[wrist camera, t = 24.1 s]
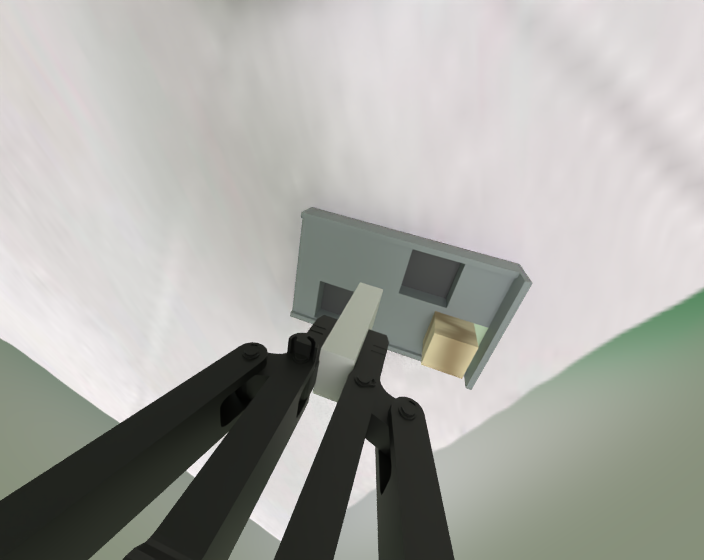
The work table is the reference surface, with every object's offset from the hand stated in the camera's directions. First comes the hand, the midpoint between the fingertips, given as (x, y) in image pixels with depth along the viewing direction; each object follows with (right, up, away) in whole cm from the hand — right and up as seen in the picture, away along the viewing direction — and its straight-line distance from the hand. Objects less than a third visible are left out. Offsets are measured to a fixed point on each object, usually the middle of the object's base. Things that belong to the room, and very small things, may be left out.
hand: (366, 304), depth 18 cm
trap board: (+5, 0, +26) cm, 27 cm away
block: (+13, -6, +23) cm, 27 cm away
